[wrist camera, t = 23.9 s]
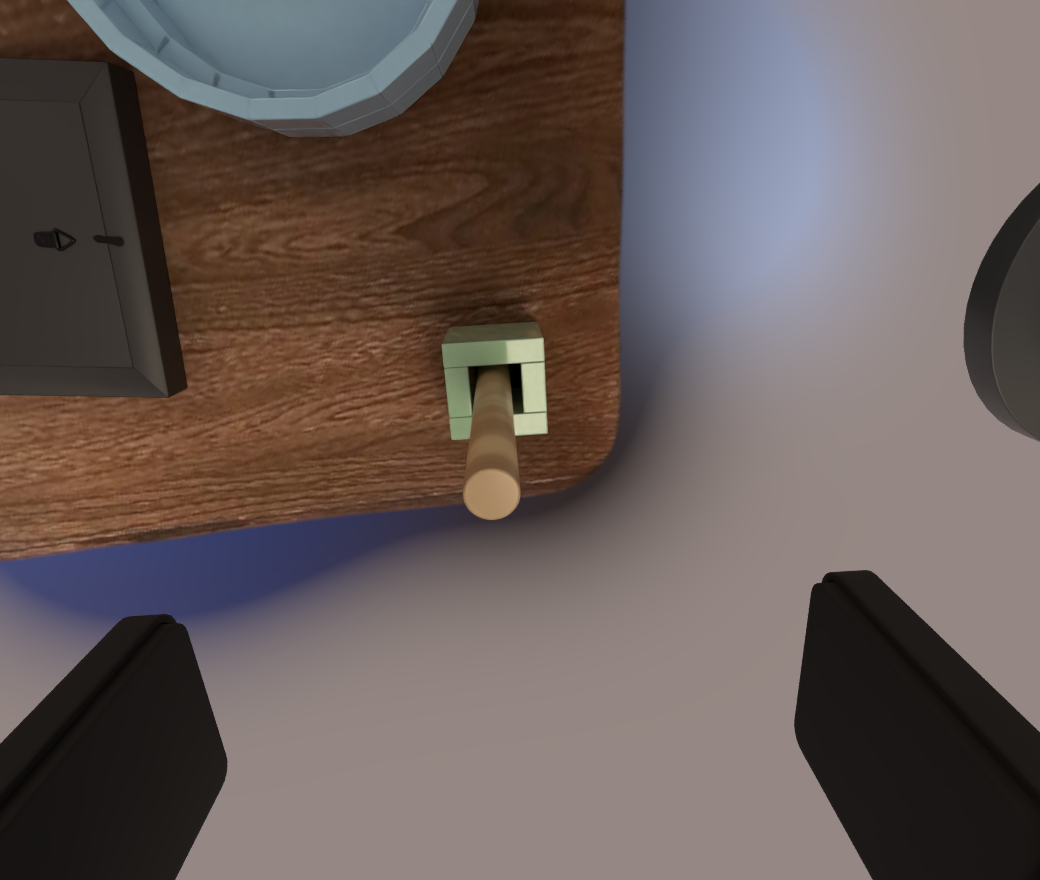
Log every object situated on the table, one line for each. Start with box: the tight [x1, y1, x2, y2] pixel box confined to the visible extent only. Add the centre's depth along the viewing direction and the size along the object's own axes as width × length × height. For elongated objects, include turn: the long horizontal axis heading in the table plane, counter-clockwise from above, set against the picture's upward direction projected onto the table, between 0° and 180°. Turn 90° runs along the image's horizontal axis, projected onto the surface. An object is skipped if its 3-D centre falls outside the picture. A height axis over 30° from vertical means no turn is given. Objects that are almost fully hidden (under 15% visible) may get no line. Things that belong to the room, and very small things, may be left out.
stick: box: [463, 364, 520, 520], centre depth 26 cm, size 2×2×17 cm
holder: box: [441, 322, 548, 440], centre depth 32 cm, size 5×5×5 cm
